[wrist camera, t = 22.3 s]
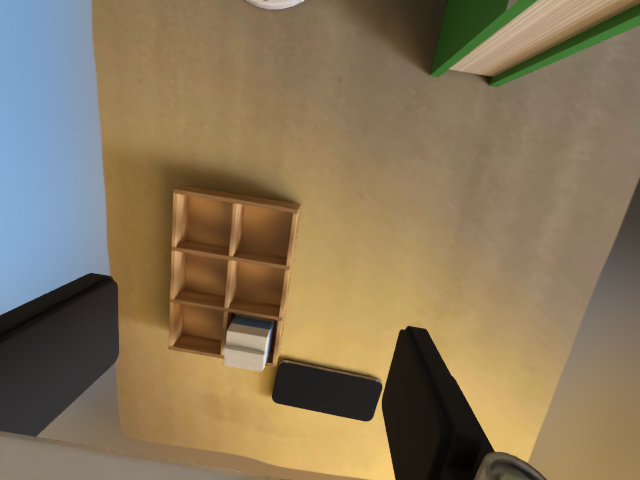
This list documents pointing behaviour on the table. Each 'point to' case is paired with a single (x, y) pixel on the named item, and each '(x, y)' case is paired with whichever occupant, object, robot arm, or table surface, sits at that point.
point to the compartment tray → (228, 266)
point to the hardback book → (524, 33)
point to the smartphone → (326, 390)
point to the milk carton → (248, 342)
